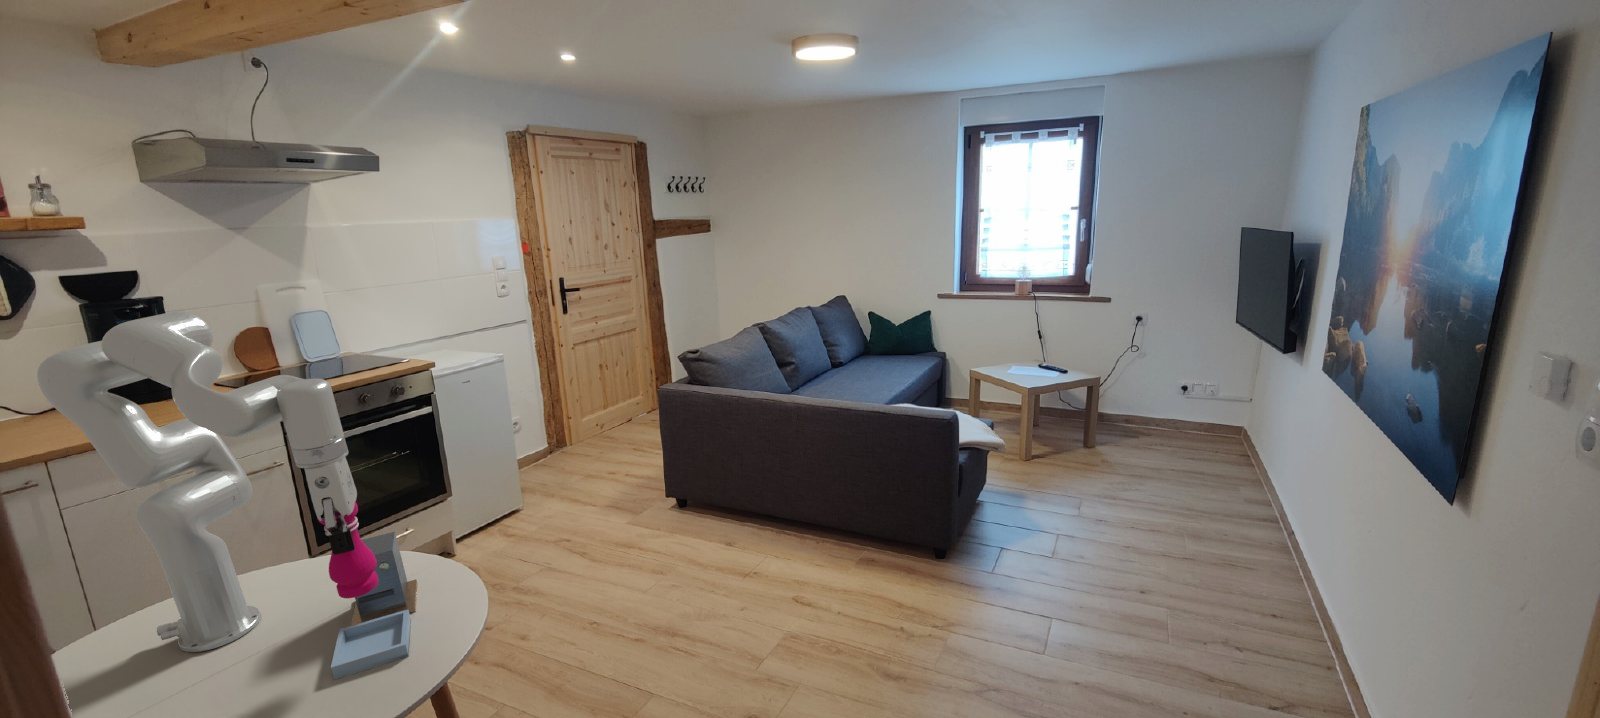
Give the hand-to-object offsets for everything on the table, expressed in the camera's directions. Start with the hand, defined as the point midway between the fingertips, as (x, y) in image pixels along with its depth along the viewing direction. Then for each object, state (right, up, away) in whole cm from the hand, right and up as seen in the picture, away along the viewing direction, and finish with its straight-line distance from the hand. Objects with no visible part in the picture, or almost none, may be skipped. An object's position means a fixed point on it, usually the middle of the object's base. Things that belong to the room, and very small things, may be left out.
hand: (346, 542), depth 120 cm
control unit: (-5, -18, +19) cm, 27 cm away
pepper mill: (0, -9, +3) cm, 10 cm away
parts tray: (+1, -22, +7) cm, 23 cm away
